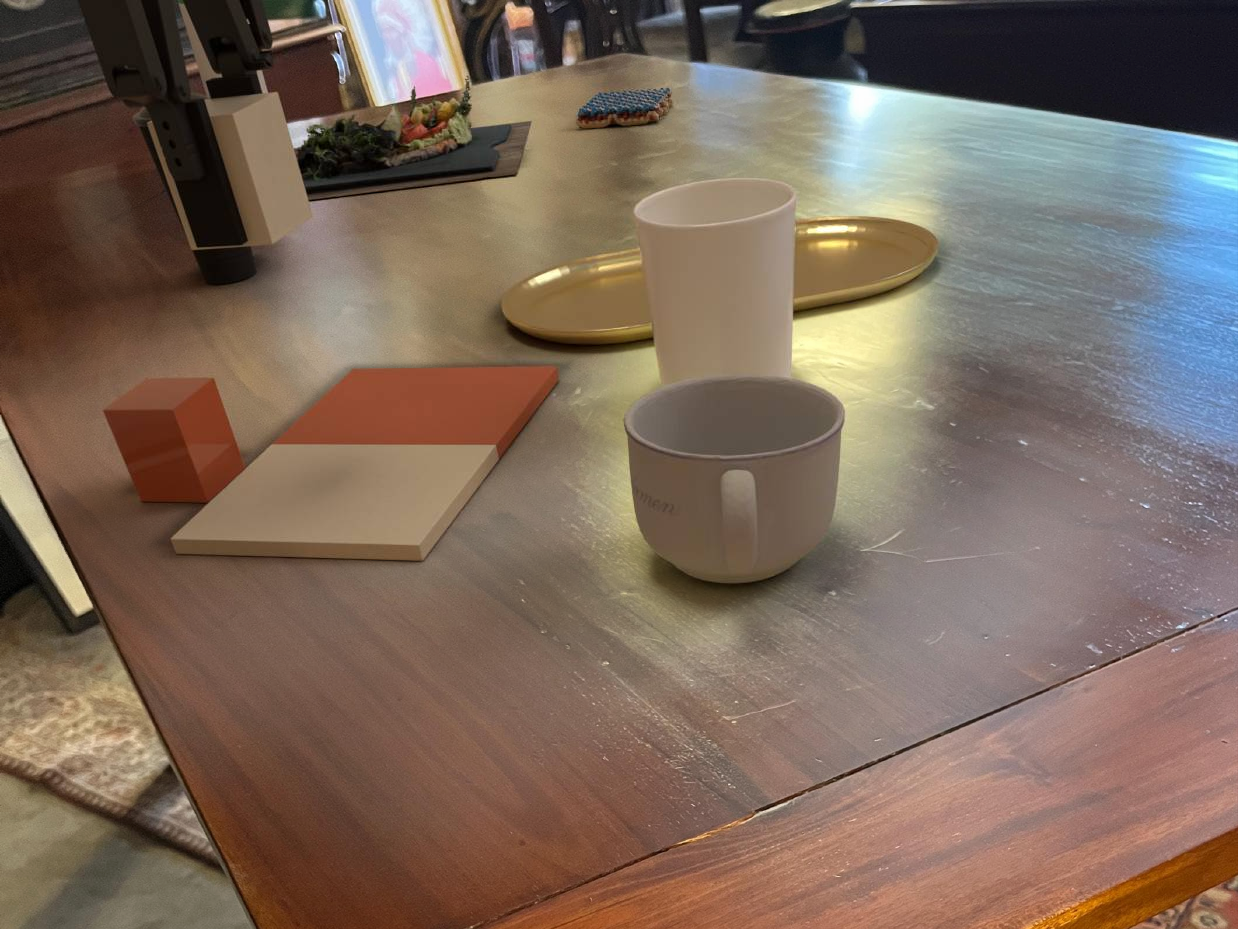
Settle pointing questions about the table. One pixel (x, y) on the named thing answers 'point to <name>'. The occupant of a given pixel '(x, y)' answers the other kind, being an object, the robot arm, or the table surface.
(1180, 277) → the table surface
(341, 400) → the sorting board
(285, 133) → the cream block
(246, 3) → the robot arm
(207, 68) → the wine bottle
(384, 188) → the plated dish
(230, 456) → the terracotta block
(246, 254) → the drinking cup
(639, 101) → the blueberry tart
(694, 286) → the white tumbler
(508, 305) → the serving platter
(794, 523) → the teacup
